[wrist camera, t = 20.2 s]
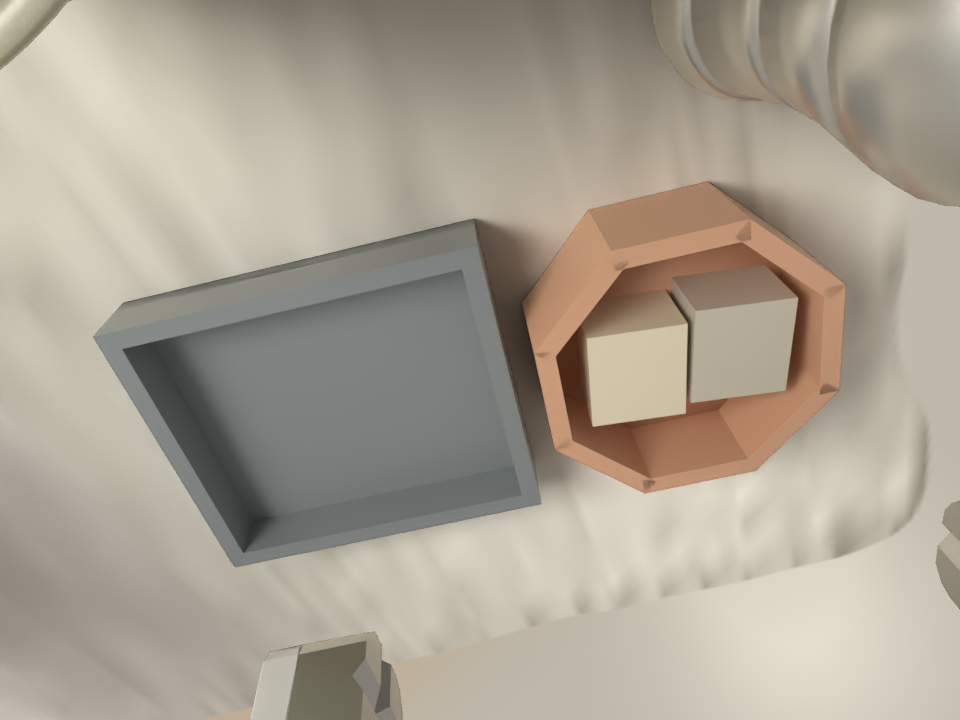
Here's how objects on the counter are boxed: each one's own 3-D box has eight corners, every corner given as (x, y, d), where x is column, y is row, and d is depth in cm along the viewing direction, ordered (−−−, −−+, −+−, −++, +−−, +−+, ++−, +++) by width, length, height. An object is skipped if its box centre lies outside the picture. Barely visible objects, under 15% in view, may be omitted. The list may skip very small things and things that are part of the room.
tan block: (573, 302, 30) (586, 338, 27) (664, 289, 29) (687, 323, 27) (579, 385, 32) (592, 426, 29) (664, 373, 32) (685, 413, 29)
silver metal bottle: (648, 106, 26) (1036, 403, 9) (623, -98, 23) (1175, -236, 6) (816, 60, 26) (1568, 282, 9) (817, -158, 22) (2082, -509, 5)
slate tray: (248, 523, 36) (234, 567, 34) (123, 302, 29) (92, 336, 27) (533, 463, 35) (541, 503, 33) (473, 218, 28) (477, 245, 26)
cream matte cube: (671, 277, 29) (695, 311, 26) (764, 264, 29) (798, 297, 26) (669, 363, 31) (691, 402, 29) (755, 352, 31) (785, 390, 29)
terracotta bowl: (553, 447, 35) (568, 509, 31) (505, 229, 28) (516, 273, 25) (790, 396, 34) (835, 454, 30) (794, 160, 28) (851, 195, 24)
